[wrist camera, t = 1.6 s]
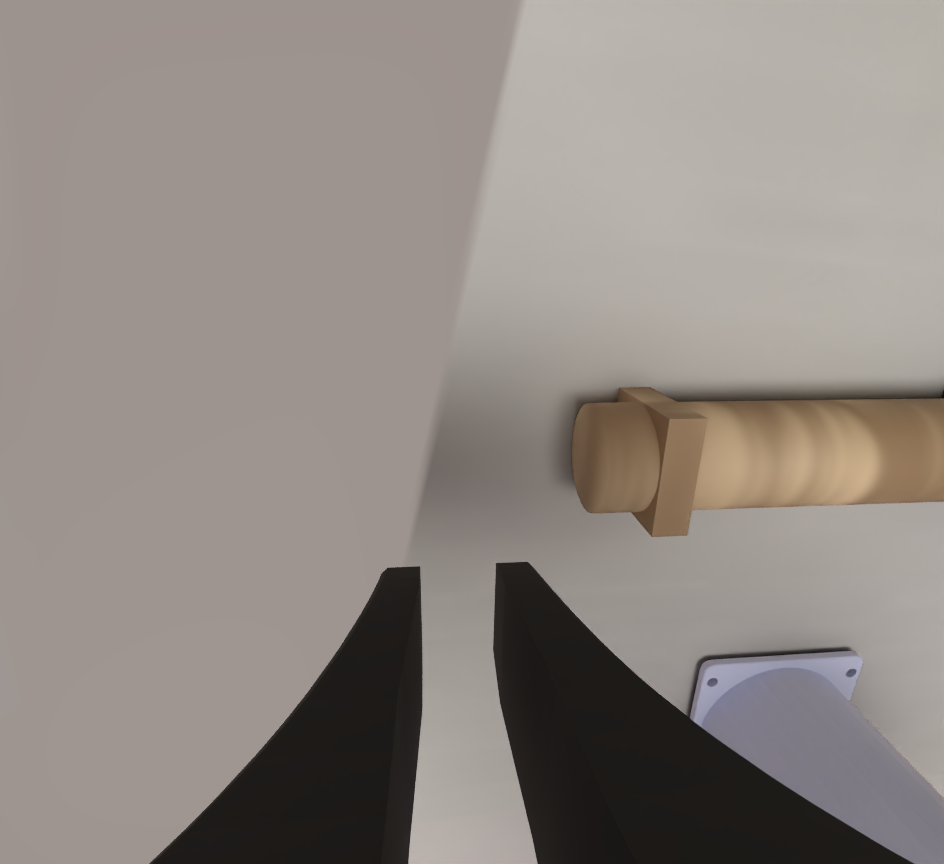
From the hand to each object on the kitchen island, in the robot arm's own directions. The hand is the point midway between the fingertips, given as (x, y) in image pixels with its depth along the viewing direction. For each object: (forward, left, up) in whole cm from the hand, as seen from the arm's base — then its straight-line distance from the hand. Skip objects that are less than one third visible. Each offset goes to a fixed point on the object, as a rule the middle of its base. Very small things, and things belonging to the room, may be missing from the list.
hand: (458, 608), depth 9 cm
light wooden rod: (0, -14, -10) cm, 17 cm away
